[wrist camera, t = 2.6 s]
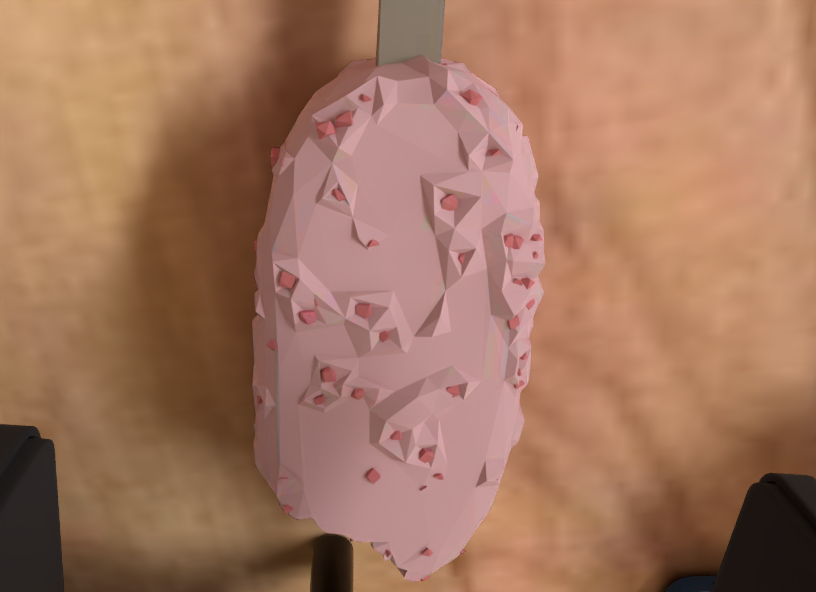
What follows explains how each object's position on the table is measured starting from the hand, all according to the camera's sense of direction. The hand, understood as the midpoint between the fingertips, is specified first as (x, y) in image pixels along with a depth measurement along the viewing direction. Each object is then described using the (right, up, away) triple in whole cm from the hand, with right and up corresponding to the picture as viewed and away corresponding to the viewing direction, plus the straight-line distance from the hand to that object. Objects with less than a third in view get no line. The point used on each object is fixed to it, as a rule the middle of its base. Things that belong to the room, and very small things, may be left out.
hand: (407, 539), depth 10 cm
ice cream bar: (0, +5, +8) cm, 10 cm away
